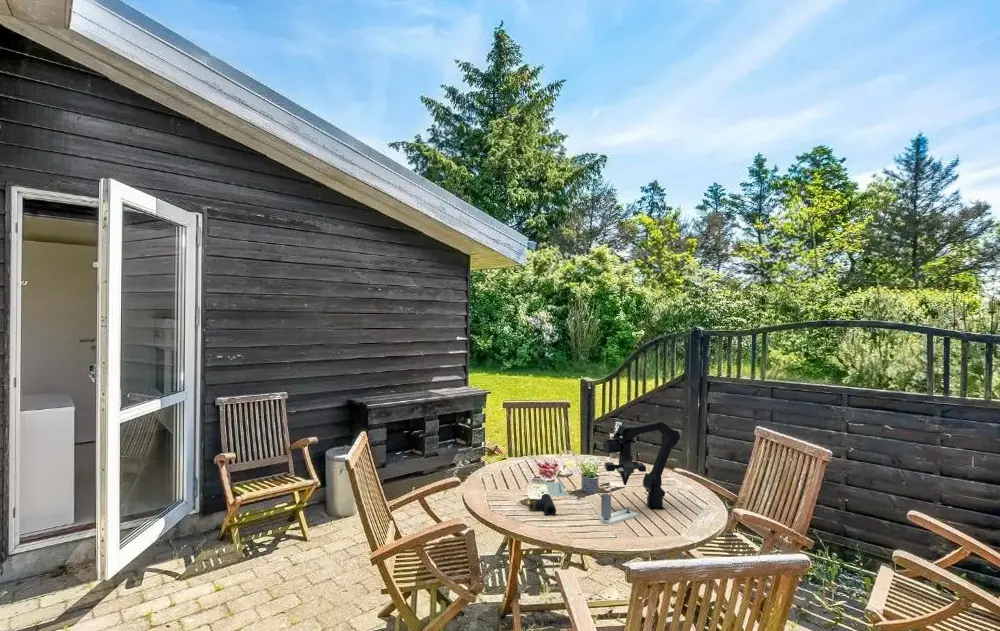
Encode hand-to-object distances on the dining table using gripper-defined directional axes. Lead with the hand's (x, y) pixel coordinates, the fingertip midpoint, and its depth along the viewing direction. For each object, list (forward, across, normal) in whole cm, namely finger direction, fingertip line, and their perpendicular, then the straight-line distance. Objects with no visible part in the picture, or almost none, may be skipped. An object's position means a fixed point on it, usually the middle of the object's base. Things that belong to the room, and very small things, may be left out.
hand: (624, 484), depth 233 cm
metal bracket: (+13, -32, +23) cm, 41 cm away
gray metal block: (+11, -12, -13) cm, 21 cm away
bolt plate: (+12, -5, -9) cm, 16 cm away
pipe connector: (+13, -40, +1) cm, 42 cm away
